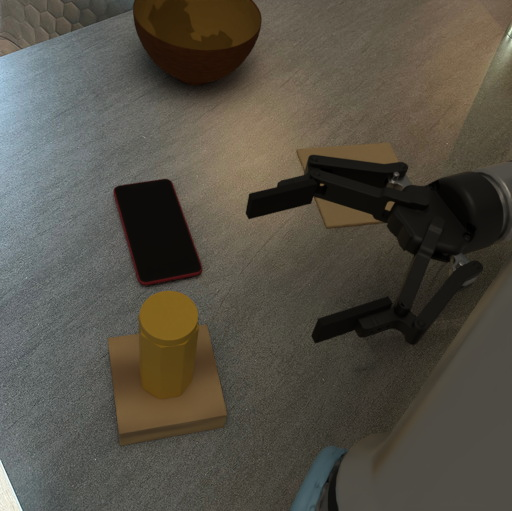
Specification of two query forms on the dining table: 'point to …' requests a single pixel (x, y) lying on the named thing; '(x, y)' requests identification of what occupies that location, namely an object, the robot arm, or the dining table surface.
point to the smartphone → (156, 232)
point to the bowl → (197, 36)
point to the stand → (170, 409)
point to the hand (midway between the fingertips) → (279, 265)
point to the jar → (167, 343)
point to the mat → (373, 153)
